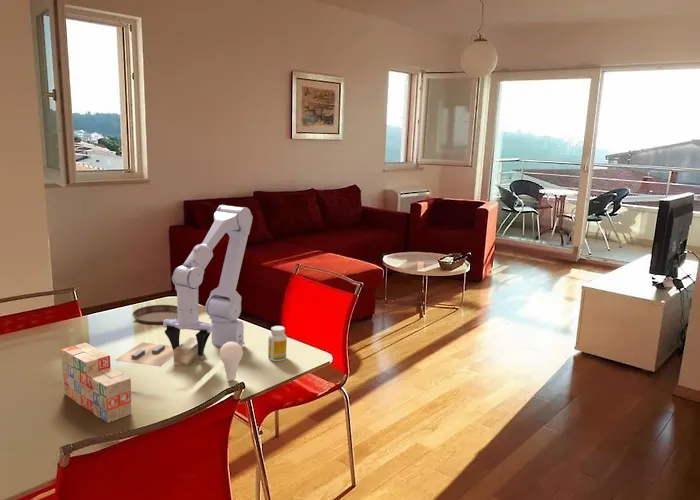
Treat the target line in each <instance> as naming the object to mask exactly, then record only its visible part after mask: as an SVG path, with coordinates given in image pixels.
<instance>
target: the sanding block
mask: <svg viewBox="0 0 700 500" xmlns="http://www.w3.org/2000/svg"><path fill="white" fill-rule="evenodd" d="M173 351H174V356H173V365H174V366H183V367H188V366H189V365H191V364H192V363H193V362H195V360H196V359H198V358H199V357H200V356H198V343H197V338H196V337H188V339H186V340H185V341H183V342H182V343H181V344H179V346H178V347H177V348H175V349H174V350H173Z"/></svg>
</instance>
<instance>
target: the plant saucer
mask: <svg viewBox="0 0 700 500" xmlns="http://www.w3.org/2000/svg"><path fill="white" fill-rule="evenodd" d="M172 313H173V314H172ZM176 314H177V305H173V304H171V305H170V304H155V305H154V304H152V305H147V306H143V307H142V306H141V307H140V308H137V309H135V310H133V312H132V317H133V318H134V320H135V321H136V322H137V323H140V324H147V325H148V324H149V325H156V326H163V321H164V320H166V319H178V315H176Z"/></svg>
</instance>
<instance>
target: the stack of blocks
mask: <svg viewBox="0 0 700 500" xmlns="http://www.w3.org/2000/svg"><path fill="white" fill-rule="evenodd" d="M60 351H61V353H60V354H61V366H62V367H61V368H62V373H63V376H62V377H63V388H64V389H63V391H64V394H65V395H66V396H67V397H68V398H70V399H71V400H73V401H74V402H75V403H76V404H78V405H79V406H82V407H83V408H85V409H86V410H88V411H89V412H91V413H92V414H94V415H95V416H96V418H99V419H100V418H101V420H102V421H103V420H104V421H103V422H105V423H106V422H107V423H106V424H108V423H112V422H114V421H117V420H120V419H122V418H124V417H127V416H130V415H132V392H131V391H132V382H131V381H132V380H131V377H129V376H128V375H126V374H124V373H122V372H121V371H119V370H117V369H116V368H113V367H111V355H110V354H108V353H106V352H104V351H102V350H100V349H98V348H96V347H95V346H92V345H91V344H89V343H87V342H83V343H79V344H75V345H73V346H69V347H64V348H61V349H60ZM111 421H112V422H111Z"/></svg>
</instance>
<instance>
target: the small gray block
mask: <svg viewBox="0 0 700 500" xmlns="http://www.w3.org/2000/svg"><path fill="white" fill-rule="evenodd" d="M163 349H165V344H159V346H157V347H156V348H154V349H153V350H152V353H153V354H157V353H159V352H160V351H162V350H163Z"/></svg>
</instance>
